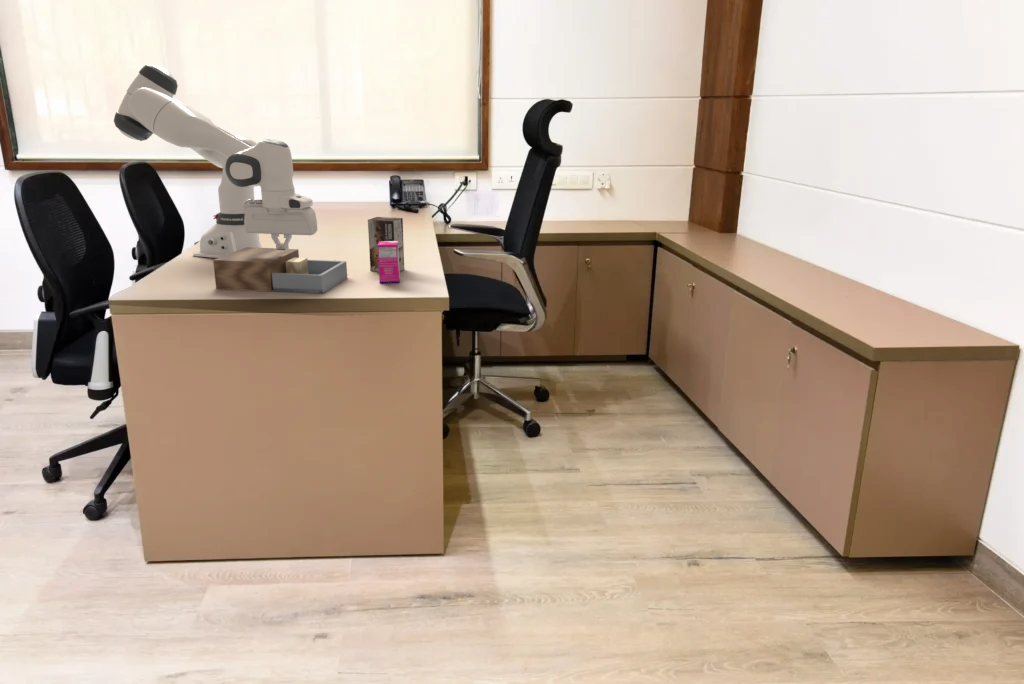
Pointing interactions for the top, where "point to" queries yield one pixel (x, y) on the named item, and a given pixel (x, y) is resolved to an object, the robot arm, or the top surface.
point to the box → (312, 277)
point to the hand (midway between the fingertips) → (282, 249)
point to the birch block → (297, 266)
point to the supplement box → (388, 262)
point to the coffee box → (385, 238)
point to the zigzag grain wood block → (251, 268)
